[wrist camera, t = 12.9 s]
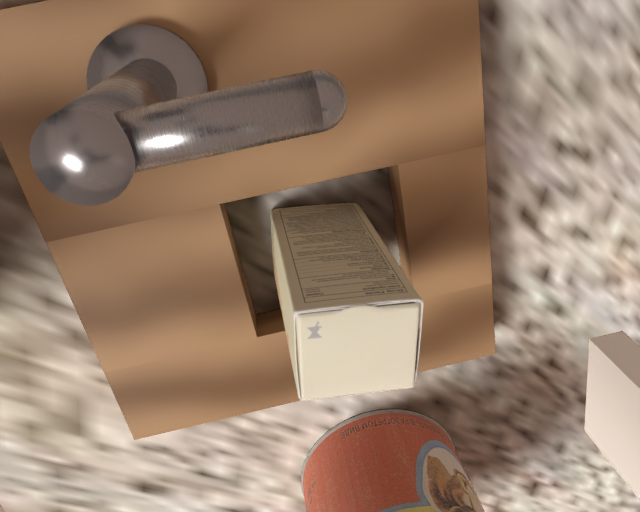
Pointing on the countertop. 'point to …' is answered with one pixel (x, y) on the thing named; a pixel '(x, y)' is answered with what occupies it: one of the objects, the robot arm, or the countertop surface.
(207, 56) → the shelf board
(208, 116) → the door lever handle
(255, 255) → the countertop surface
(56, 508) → the countertop surface
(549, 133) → the countertop surface
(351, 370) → the box
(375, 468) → the canned food
